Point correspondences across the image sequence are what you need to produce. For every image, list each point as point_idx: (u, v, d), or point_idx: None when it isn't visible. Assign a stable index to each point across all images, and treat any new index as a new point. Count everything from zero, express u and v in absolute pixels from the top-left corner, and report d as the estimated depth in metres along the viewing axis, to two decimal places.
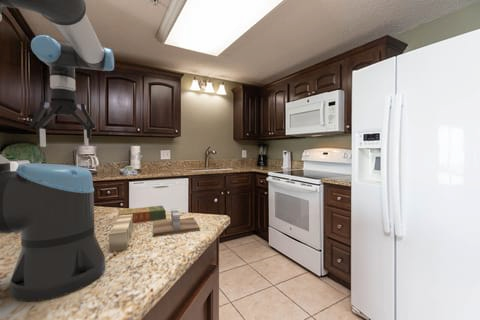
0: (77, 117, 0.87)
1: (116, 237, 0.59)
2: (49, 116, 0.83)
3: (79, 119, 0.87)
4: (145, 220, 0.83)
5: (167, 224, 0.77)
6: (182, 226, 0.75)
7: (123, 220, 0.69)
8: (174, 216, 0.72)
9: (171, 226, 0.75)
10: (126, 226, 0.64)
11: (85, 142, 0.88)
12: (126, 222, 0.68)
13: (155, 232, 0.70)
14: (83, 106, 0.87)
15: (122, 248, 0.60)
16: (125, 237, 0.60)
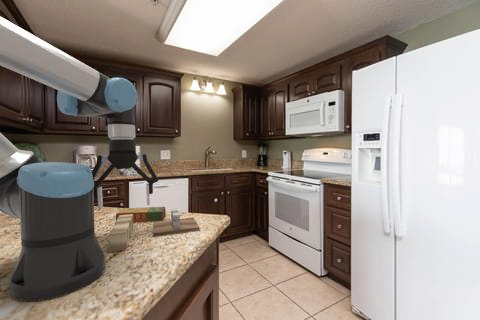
0: (138, 171, 0.72)
1: (116, 237, 0.59)
2: (108, 172, 0.69)
3: (141, 173, 0.73)
4: (142, 220, 0.83)
5: (167, 224, 0.77)
6: (182, 226, 0.75)
7: (123, 220, 0.69)
8: (174, 216, 0.72)
9: (171, 226, 0.75)
10: (126, 226, 0.64)
11: (148, 200, 0.73)
12: (126, 222, 0.68)
13: (155, 232, 0.70)
14: (145, 157, 0.73)
15: (122, 248, 0.60)
16: (125, 237, 0.60)
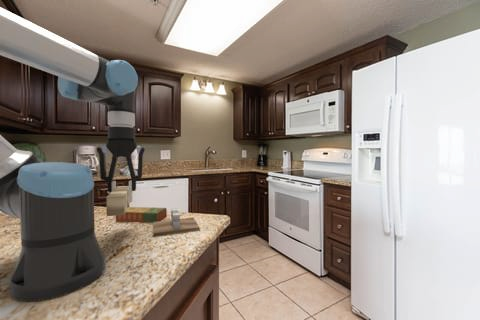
0: (129, 163, 0.71)
1: (114, 200, 0.58)
2: (114, 163, 0.69)
3: (130, 166, 0.71)
4: (138, 221, 0.82)
5: (167, 224, 0.77)
6: (182, 226, 0.75)
7: (120, 189, 0.69)
8: (174, 216, 0.72)
9: (171, 226, 0.75)
10: (124, 192, 0.64)
11: (130, 197, 0.71)
12: (124, 190, 0.67)
13: (155, 232, 0.70)
14: (142, 151, 0.72)
15: (119, 212, 0.59)
16: (123, 201, 0.59)
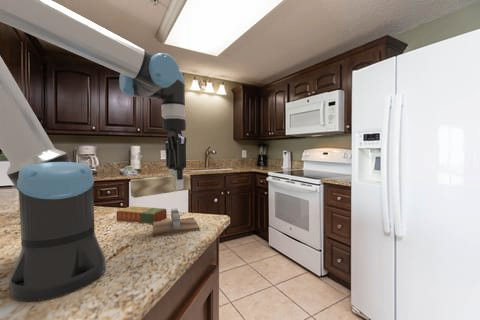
0: (174, 152, 0.74)
1: (131, 184, 0.69)
2: (169, 152, 0.78)
3: (174, 155, 0.74)
4: (136, 221, 0.82)
5: (167, 224, 0.77)
6: (182, 226, 0.75)
7: (167, 176, 0.76)
8: (174, 216, 0.72)
9: (171, 226, 0.75)
10: (150, 178, 0.71)
11: (175, 185, 0.75)
12: (162, 177, 0.73)
13: (155, 232, 0.70)
14: (178, 140, 0.71)
15: (133, 194, 0.68)
16: (133, 185, 0.68)
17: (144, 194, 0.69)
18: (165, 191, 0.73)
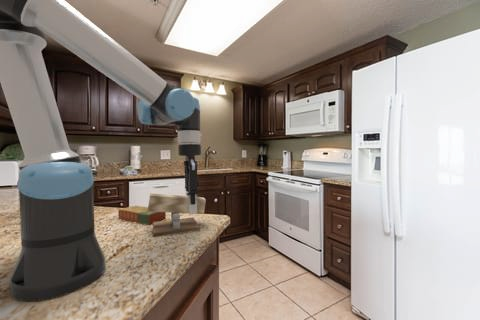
0: (188, 177, 0.76)
1: None
2: (186, 176, 0.80)
3: (188, 180, 0.76)
4: (134, 221, 0.83)
5: (167, 224, 0.77)
6: (182, 226, 0.75)
7: (184, 196, 0.78)
8: (174, 216, 0.72)
9: (171, 226, 0.75)
10: (166, 196, 0.74)
11: (188, 209, 0.76)
12: (178, 197, 0.76)
13: (155, 232, 0.70)
14: (189, 167, 0.72)
15: (148, 208, 0.73)
16: (149, 200, 0.72)
17: (157, 210, 0.73)
18: (178, 211, 0.75)
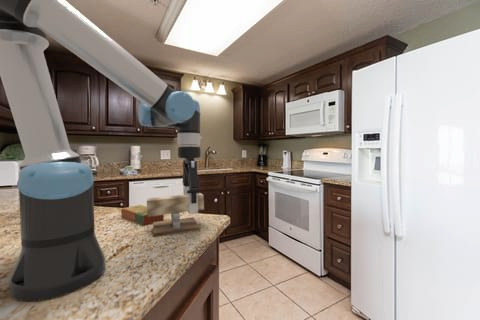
0: (188, 177, 0.73)
1: None
2: (184, 175, 0.82)
3: (188, 180, 0.73)
4: (132, 220, 0.83)
5: (167, 224, 0.77)
6: (182, 226, 0.75)
7: (181, 196, 0.78)
8: (174, 216, 0.72)
9: (171, 226, 0.75)
10: (163, 198, 0.74)
11: (189, 208, 0.72)
12: (176, 197, 0.76)
13: (155, 232, 0.70)
14: (188, 164, 0.71)
15: (147, 213, 0.73)
16: (147, 205, 0.72)
17: (157, 213, 0.73)
18: (177, 211, 0.75)
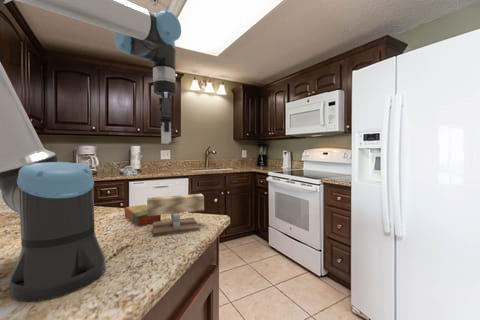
0: None
1: None
2: (161, 113, 0.84)
3: (162, 111, 0.76)
4: (131, 220, 0.83)
5: (167, 224, 0.77)
6: (182, 226, 0.75)
7: (182, 196, 0.78)
8: (174, 216, 0.72)
9: (171, 226, 0.75)
10: (164, 198, 0.74)
11: (162, 137, 0.74)
12: (176, 197, 0.76)
13: (155, 232, 0.70)
14: (161, 94, 0.74)
15: (147, 212, 0.73)
16: (147, 204, 0.72)
17: (157, 213, 0.73)
18: (178, 211, 0.75)
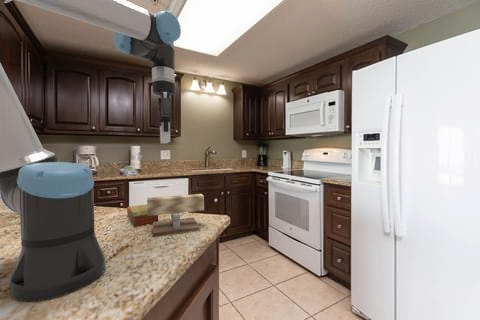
0: (161, 109, 0.76)
1: None
2: (160, 113, 0.84)
3: (161, 111, 0.76)
4: (130, 220, 0.84)
5: (167, 224, 0.77)
6: (182, 226, 0.75)
7: (182, 196, 0.78)
8: (174, 216, 0.72)
9: (171, 226, 0.75)
10: (164, 198, 0.74)
11: (161, 137, 0.75)
12: (176, 197, 0.76)
13: (155, 232, 0.70)
14: (161, 94, 0.74)
15: (147, 212, 0.73)
16: (147, 204, 0.72)
17: (157, 213, 0.73)
18: (178, 211, 0.75)
